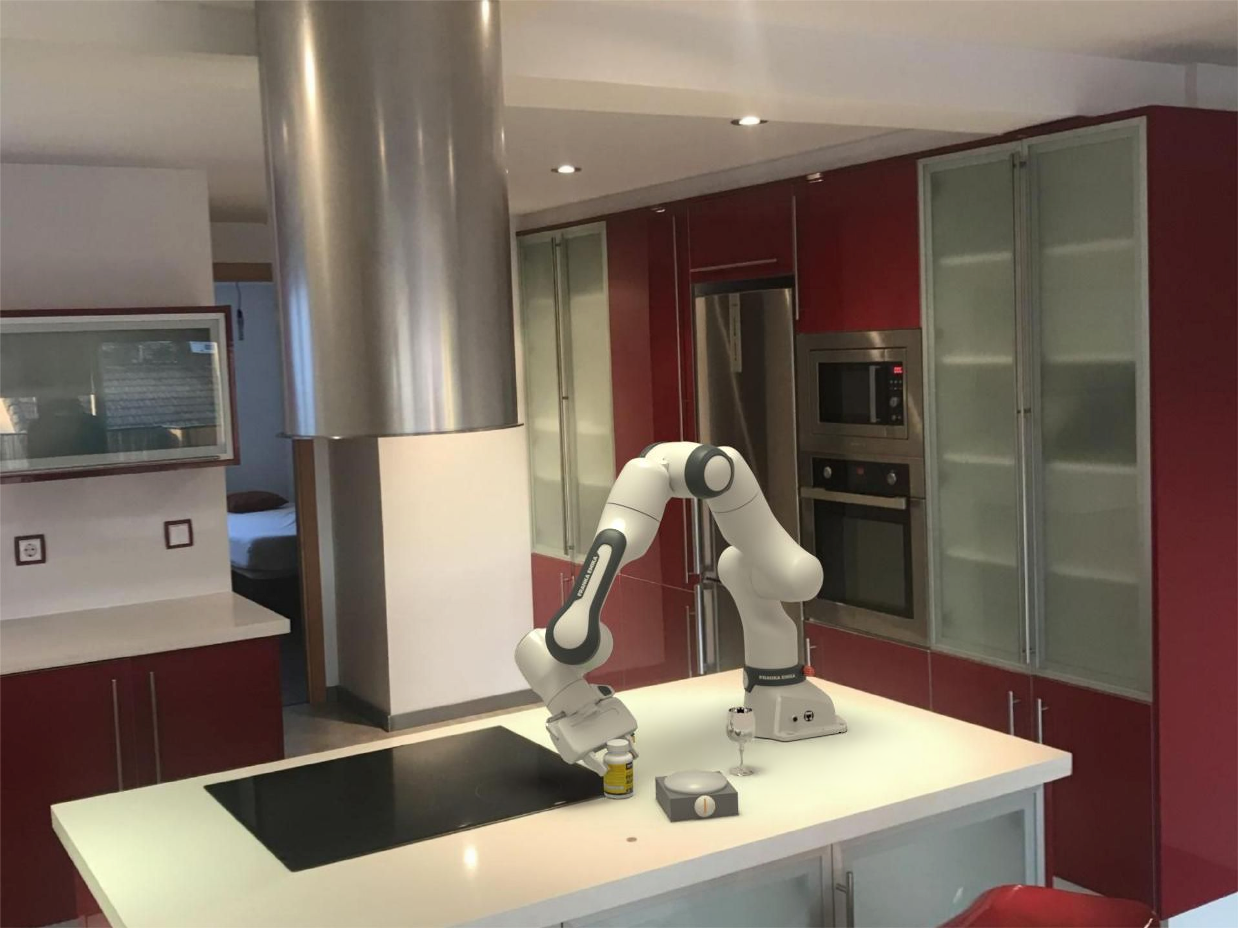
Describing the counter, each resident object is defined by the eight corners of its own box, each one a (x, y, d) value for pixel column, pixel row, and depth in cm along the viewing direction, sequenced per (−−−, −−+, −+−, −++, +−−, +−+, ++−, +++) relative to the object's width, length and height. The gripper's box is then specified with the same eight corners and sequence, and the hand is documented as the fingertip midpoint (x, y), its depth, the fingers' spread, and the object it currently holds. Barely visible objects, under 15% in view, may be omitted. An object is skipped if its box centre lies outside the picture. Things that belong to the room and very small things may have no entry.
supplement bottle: (630, 800, 233) (629, 746, 232) (601, 798, 234) (599, 746, 233) (636, 790, 238) (634, 737, 238) (607, 788, 239) (605, 737, 239)
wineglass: (758, 776, 244) (757, 713, 243) (728, 777, 244) (726, 714, 243) (755, 766, 250) (753, 705, 249) (725, 767, 250) (724, 706, 249)
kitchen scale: (720, 792, 236) (719, 766, 235) (739, 815, 223) (738, 788, 223) (655, 798, 233) (655, 772, 233) (671, 822, 221) (670, 795, 221)
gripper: (550, 709, 230) (597, 772, 225) (615, 683, 247) (660, 740, 242) (531, 731, 233) (577, 792, 228) (597, 703, 250) (641, 760, 245)
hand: (620, 765), depth 235 cm, fingers open, 8 cm apart
